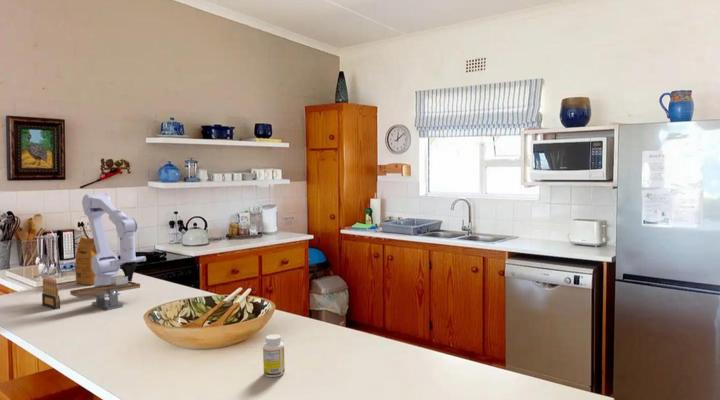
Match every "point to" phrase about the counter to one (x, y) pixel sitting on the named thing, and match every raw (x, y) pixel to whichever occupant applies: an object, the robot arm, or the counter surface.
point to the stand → (110, 303)
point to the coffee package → (85, 261)
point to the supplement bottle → (273, 356)
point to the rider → (118, 281)
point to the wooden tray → (101, 290)
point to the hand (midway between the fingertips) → (129, 280)
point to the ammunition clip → (50, 293)
